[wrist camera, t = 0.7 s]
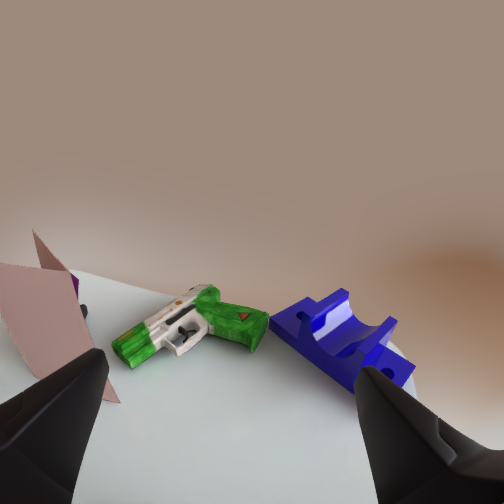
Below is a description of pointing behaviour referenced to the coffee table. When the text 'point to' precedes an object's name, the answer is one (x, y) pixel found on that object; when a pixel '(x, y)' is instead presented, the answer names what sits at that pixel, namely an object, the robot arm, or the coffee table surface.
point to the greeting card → (45, 314)
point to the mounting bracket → (340, 339)
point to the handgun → (191, 326)
